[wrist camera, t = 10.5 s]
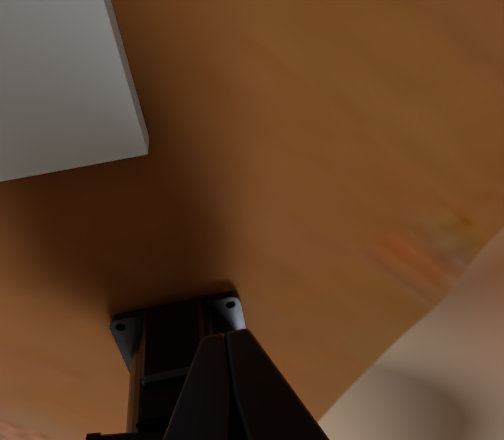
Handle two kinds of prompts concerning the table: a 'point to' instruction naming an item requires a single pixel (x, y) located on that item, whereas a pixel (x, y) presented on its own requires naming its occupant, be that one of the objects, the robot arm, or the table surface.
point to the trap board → (64, 88)
